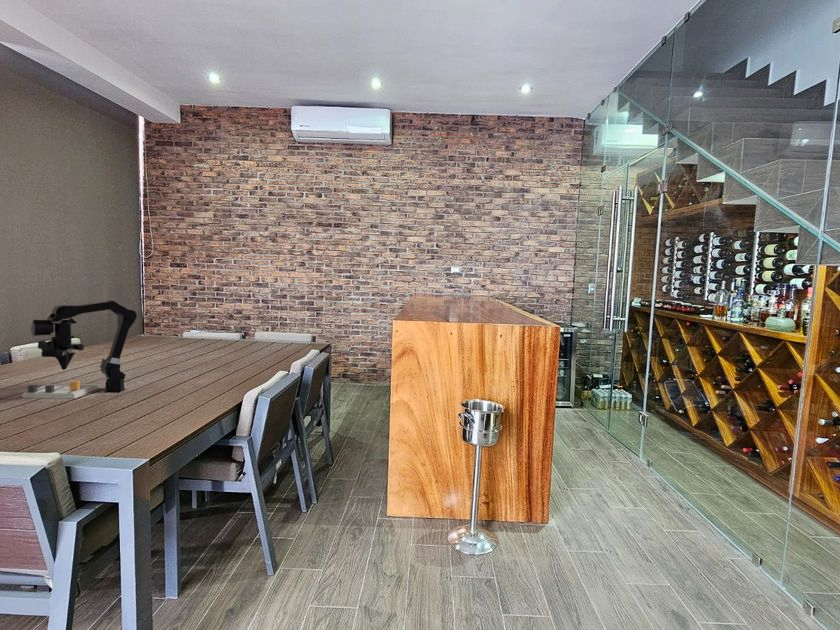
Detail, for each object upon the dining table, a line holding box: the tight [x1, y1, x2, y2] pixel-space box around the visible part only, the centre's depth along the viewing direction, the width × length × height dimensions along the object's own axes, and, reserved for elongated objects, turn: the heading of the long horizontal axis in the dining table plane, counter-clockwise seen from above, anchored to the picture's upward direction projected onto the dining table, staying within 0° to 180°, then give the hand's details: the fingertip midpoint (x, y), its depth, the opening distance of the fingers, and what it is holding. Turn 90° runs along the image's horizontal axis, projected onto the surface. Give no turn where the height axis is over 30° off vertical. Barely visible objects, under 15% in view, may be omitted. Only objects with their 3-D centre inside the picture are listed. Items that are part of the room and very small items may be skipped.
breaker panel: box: [22, 383, 98, 399], centre depth 209 cm, size 21×17×5 cm
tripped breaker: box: [69, 380, 81, 390], centre depth 207 cm, size 3×2×4 cm, turn 96°
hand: (64, 369), depth 200 cm, fingers closed
